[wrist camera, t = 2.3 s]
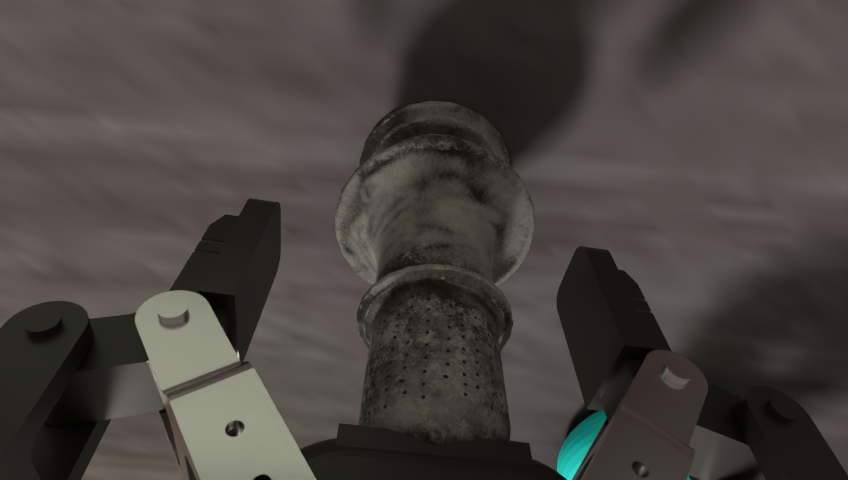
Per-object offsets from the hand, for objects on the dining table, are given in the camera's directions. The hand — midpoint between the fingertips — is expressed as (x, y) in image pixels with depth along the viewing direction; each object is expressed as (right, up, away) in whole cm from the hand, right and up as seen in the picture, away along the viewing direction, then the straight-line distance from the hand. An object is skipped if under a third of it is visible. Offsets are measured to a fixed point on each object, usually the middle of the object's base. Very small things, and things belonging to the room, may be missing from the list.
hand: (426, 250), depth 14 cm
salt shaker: (0, +3, +4) cm, 5 cm away
